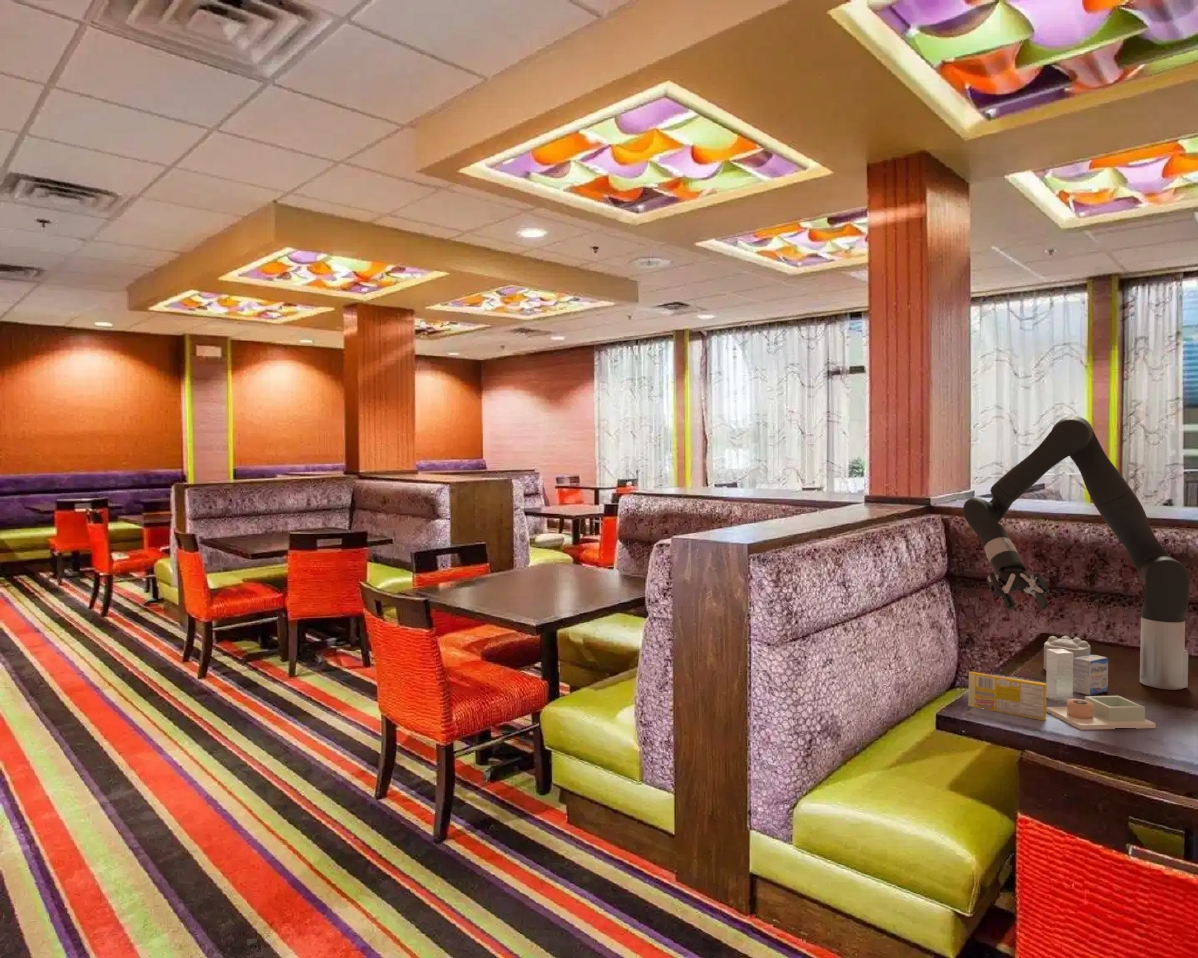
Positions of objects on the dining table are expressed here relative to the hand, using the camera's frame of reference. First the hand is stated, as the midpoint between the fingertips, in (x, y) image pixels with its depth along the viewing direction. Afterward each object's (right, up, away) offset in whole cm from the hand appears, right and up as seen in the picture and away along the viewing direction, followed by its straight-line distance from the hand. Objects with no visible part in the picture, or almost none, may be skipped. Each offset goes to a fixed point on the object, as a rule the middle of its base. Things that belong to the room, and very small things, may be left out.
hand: (1028, 607), depth 202 cm
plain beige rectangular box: (+1, -20, -12) cm, 24 cm away
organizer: (+1, -21, -26) cm, 33 cm away
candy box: (-17, -21, -21) cm, 34 cm away
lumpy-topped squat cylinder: (+19, -20, +15) cm, 31 cm away
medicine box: (+12, -20, -6) cm, 25 cm away
